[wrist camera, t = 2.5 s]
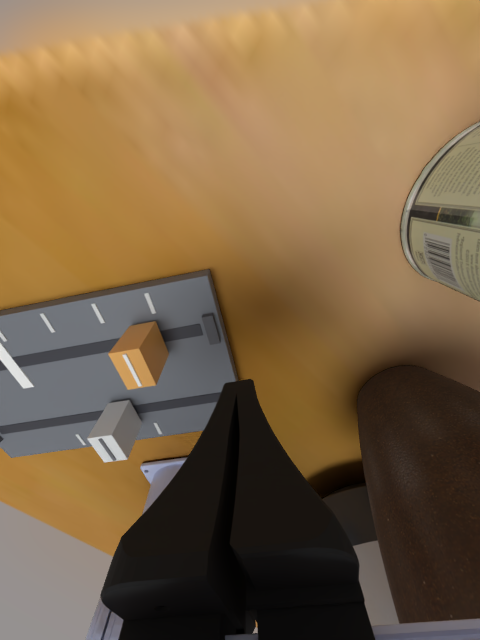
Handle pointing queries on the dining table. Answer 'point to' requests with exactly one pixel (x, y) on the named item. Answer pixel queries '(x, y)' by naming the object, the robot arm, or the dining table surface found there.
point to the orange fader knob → (140, 355)
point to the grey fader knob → (115, 431)
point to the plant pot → (424, 490)
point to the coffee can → (447, 216)
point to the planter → (364, 550)
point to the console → (109, 363)
